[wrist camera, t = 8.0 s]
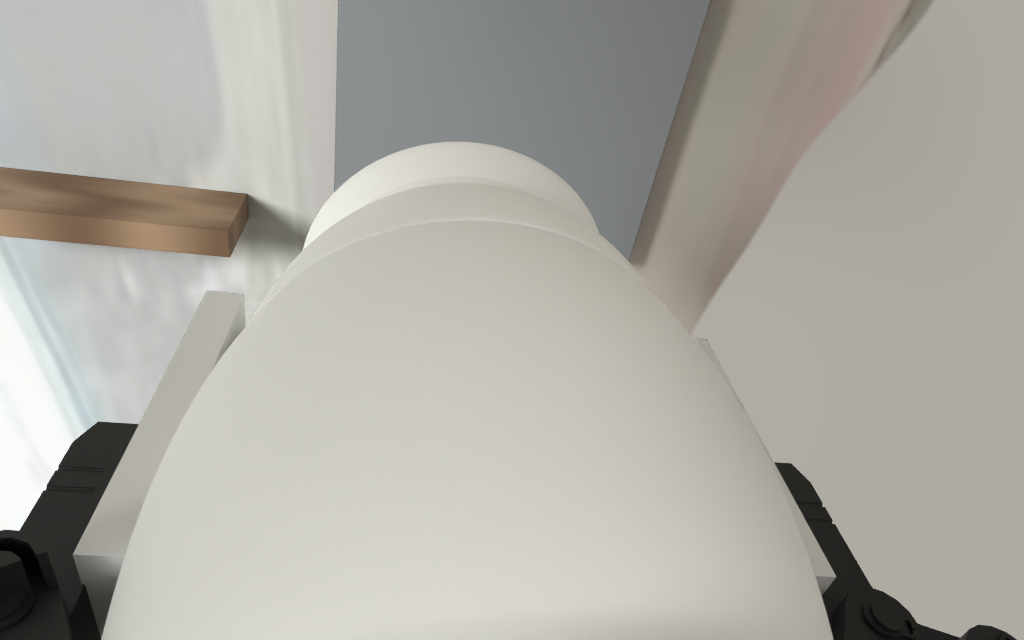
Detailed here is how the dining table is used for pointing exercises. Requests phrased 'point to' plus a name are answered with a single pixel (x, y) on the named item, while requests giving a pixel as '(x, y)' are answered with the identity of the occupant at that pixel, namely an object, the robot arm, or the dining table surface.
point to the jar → (464, 442)
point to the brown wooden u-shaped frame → (120, 213)
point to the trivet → (521, 88)
